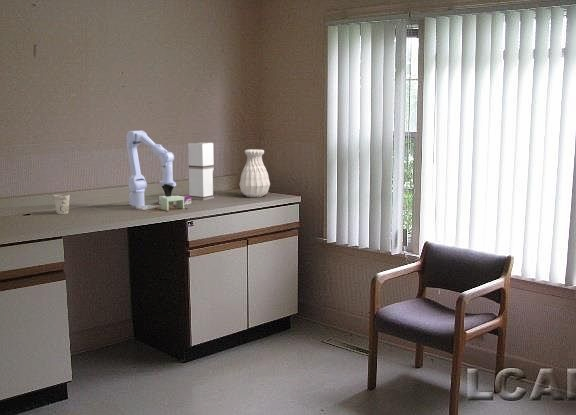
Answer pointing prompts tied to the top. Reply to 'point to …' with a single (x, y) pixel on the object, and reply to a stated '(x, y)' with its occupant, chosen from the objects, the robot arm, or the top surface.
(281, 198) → the top surface
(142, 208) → the tray
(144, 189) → the robot arm
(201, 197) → the white two-part pillar
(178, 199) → the hood
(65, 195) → the mug
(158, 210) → the puzzle board
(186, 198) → the candy bar box
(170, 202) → the block
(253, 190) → the vase
